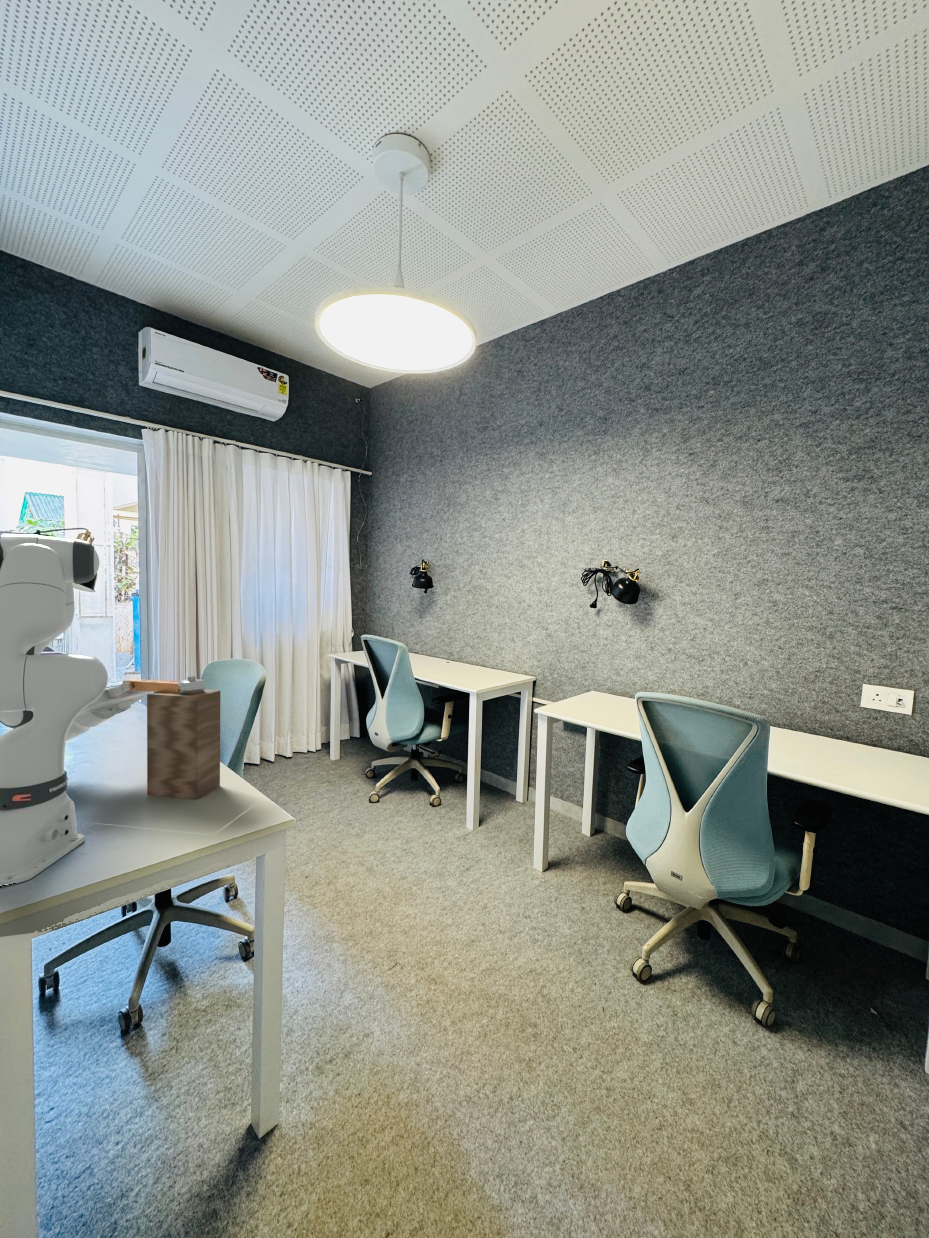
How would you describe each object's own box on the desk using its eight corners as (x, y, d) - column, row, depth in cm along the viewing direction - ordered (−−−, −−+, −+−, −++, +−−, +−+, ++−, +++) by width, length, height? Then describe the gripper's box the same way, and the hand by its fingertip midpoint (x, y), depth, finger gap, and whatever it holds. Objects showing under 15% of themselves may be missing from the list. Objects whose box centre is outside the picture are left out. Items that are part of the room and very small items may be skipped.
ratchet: (209, 691, 131) (209, 675, 130) (194, 695, 125) (194, 679, 124) (136, 686, 133) (136, 671, 133) (118, 690, 128) (117, 674, 127)
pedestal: (219, 785, 133) (220, 690, 132) (197, 799, 124) (197, 697, 123) (172, 781, 135) (172, 687, 134) (147, 794, 126) (147, 694, 125)
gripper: (54, 704, 122) (97, 679, 120) (122, 689, 142) (159, 667, 140) (65, 727, 122) (108, 702, 120) (132, 708, 142) (170, 686, 140)
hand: (136, 683), depth 130 cm, fingers open, 3 cm apart
